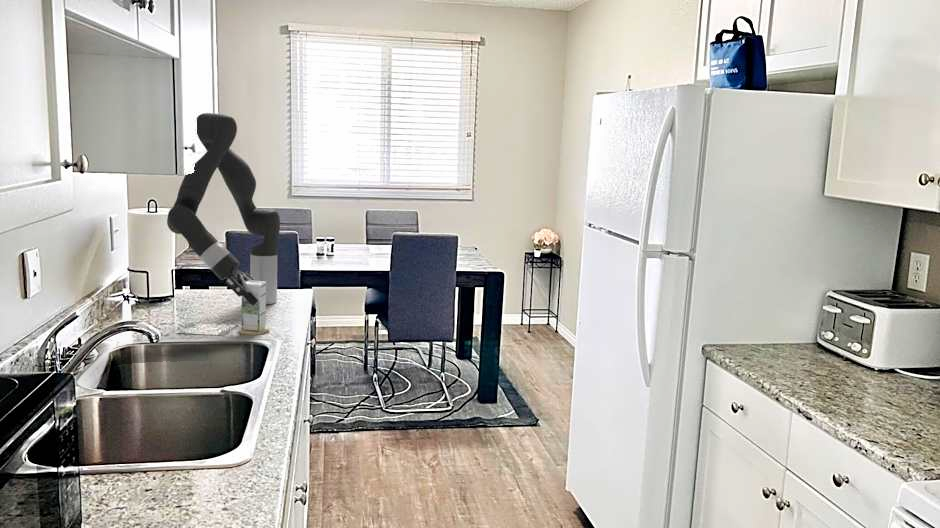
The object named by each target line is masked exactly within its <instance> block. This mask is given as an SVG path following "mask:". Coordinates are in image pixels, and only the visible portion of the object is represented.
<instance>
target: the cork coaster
mask: <svg viewBox="0 0 940 528" xmlns="http://www.w3.org/2000/svg"><path fill="white" fill-rule="evenodd" d="M237 330H238V333H239V334H241V335H249V336H257V335H265V334H268V333H269V332H270V328H269V327H267V326H266V327H265V328H264V329H263V330H261V331H248V330H242V326H241V327H239V328H238V329H237Z"/></svg>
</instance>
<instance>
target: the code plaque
mask: <svg viewBox="0 0 940 528" xmlns="http://www.w3.org/2000/svg"><path fill="white" fill-rule="evenodd" d="M191 323H192V324H191ZM191 323H188V324H187V325H186V326H188V327H189V328H191V327H190V326H192V325H195V326H196V324H198V323H199V322H191ZM194 323H196V324H194ZM186 326H185V327H186ZM192 327H193V326H192ZM229 327H230V326H229ZM186 328H187V327H186ZM198 328H199V327H198ZM230 328H231V327H230ZM230 328H229V329H228V330H226V331H225V330H223V331H224V332H223V331H221V333H219V334H218V337H224V336H225V335H226V334H228V333H229V332H230V331H231V330H230ZM234 328H235V327H233V329H234ZM187 329H188V328H187ZM195 330H196V329H195Z"/></svg>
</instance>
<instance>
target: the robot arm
mask: <svg viewBox="0 0 940 528" xmlns="http://www.w3.org/2000/svg"><path fill="white" fill-rule="evenodd" d="M196 119H197V133H196V135H198V136H197V137H198V139H199V140H200V142H201V144H202V146H204V149H205V150H206V152H205V153H204V154H203V155H202V156H201V157H200V158H199V159H198V160H197V161H196V162H195V163H194V164H195V167H194V170H195V171H194V173H192V174H188V175H186V174H185V175H184V177H183V179H182V182H181V184H180V187H179V189H178V192H177V198H176V200H175V202H174V205H173V206H172V208H171V209H169V211H168V214H167V219H166V223H167V227H168V229H169V230H170V232H172V233H174V234H177V235H181V236H182V237H183V238H184V239H185V240H186V241H187V244H188V246H189V248H190V249H191V250H192V251H193V252H194V253H195V254H196V255H197V256H198V257H199V258H200V259H201V261H202V262H203V263H204V265H206V266H207V267H208V268H209V270H210V271H212V273H213V274H214V275H215V276H216V277H217V278H218V279H219V280H220V281H224V280H225V279H227V280H225V282H224V283H225V284H226V285H227V286H228V287H229V288H230V290H231V291H233V292H234V293H235V295H236V296H238V297H240V298H242V297H244V298H245V299H246V300H247V301H248V302H249V303H250V304H251V305H255V304H256V303H257V302H258V299H257V298H256V297H255V296H254V295H253V294H252V293H251V292H249V290H248V288H247V284H246V282H245V281H247V280H250V281H266V305H270V304H271V305H272V304H277V301H278V249H279V244H280V232H281V231H280V228H281V219H280V214H279V212H278V211H276V210H275V209H268V208H267V209H265V208H259V207H257V206H256V204H255V203H254V200H253V197H254V195H255V192H256V188H257V180H256V178H255V175H254V173H253V171H252V169H251V167H250V166H249V164H248V163H247V162H246V160H244V158H242V157H241V156H240V155H239V154H237V153H236V152H235V151H234V150H232V148H230V147H231V146H232V144H233V142H234V141H235V138H236V136H237V132H238V125H237V122H236V120H235V118H234V117H233V116H231V115H229V114H224V113H223V114H222V113H211V112H205V113H200V114H199V115H198V116H197V117H196ZM217 169H218V171H219V173H220V175H221V177H222V179H223V181H224V183H225V185H226V187H227V189H228V191H229V192H230V194H231V195H232V197H233V199H234V202H235V204H236V206H237V208H238V211H239V214H240V215H241V218H242V221H243V224H244V225H245V228H246V231H248V233H250V234H252V235H255V236H263V240H262V241H261V242H259V243H257V244H254V245H251V246H250V252H249V253H250V254H249V255H250V257H249V258H250V259H249V260H250V261H249V262H250V264H249V265H250V267H249V269H250V270H249V272H250V274H249V273H248V272H247V271H246V269H242V270H240V269H238V267H240V265H241V262H240V260H239V259H237V258H236V257H235V256H234V254H232V253H231V252H230V250H229V249H227V248H226V246H224V244H222V243H221V242H220V241H218V239H217V238H216V237H215V236H214V235H213V234H212V233H210V232H209V231H208V230H207V228H206V227H205V225H204V224H203V223H202V221H201V220H200V219H199V217H198V216H197V212H198V210H199V206H200V204H201V202H202V201H203V198H204V196H205V193H206V191H207V188H208V186H209V183H210V182H211V179H212V177H213V175H214V173H215V171H216V170H217Z"/></svg>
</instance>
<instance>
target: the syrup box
mask: <svg viewBox="0 0 940 528" xmlns="http://www.w3.org/2000/svg"><path fill="white" fill-rule="evenodd" d="M245 282H246V284H247V288H248V290H249V292H251V293H252V294H253V295H254V296H255V297H256V298H257V299H258V302H257V303H256V304H255V305H251V304H250V303H249V302H248V301H247V300H246V299H245V298H244V297H242V296H241V327H242V330H248V331H261V330H263V329H264V328H265V327H267V325H266V323H267V322H266V321H267V320H266V312H267V311H266V307H267V304H266V281H250V280H247V281H245Z"/></svg>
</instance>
